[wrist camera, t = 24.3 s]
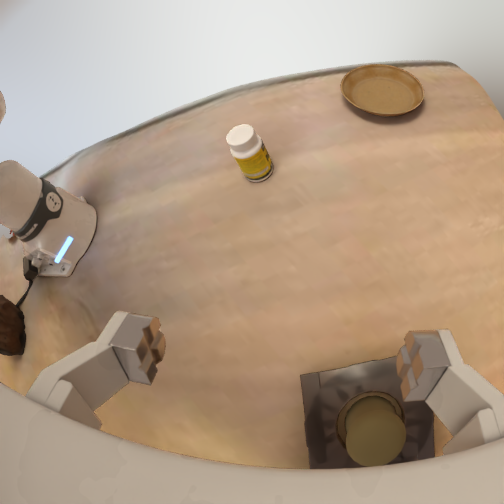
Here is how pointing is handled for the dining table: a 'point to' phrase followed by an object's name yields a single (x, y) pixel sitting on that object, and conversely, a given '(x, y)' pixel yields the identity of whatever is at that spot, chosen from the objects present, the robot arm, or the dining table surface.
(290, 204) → the dining table surface
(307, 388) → the holder
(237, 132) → the supplement bottle
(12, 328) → the owl
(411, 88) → the plant saucer
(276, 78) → the dining table surface
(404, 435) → the pepper shaker
